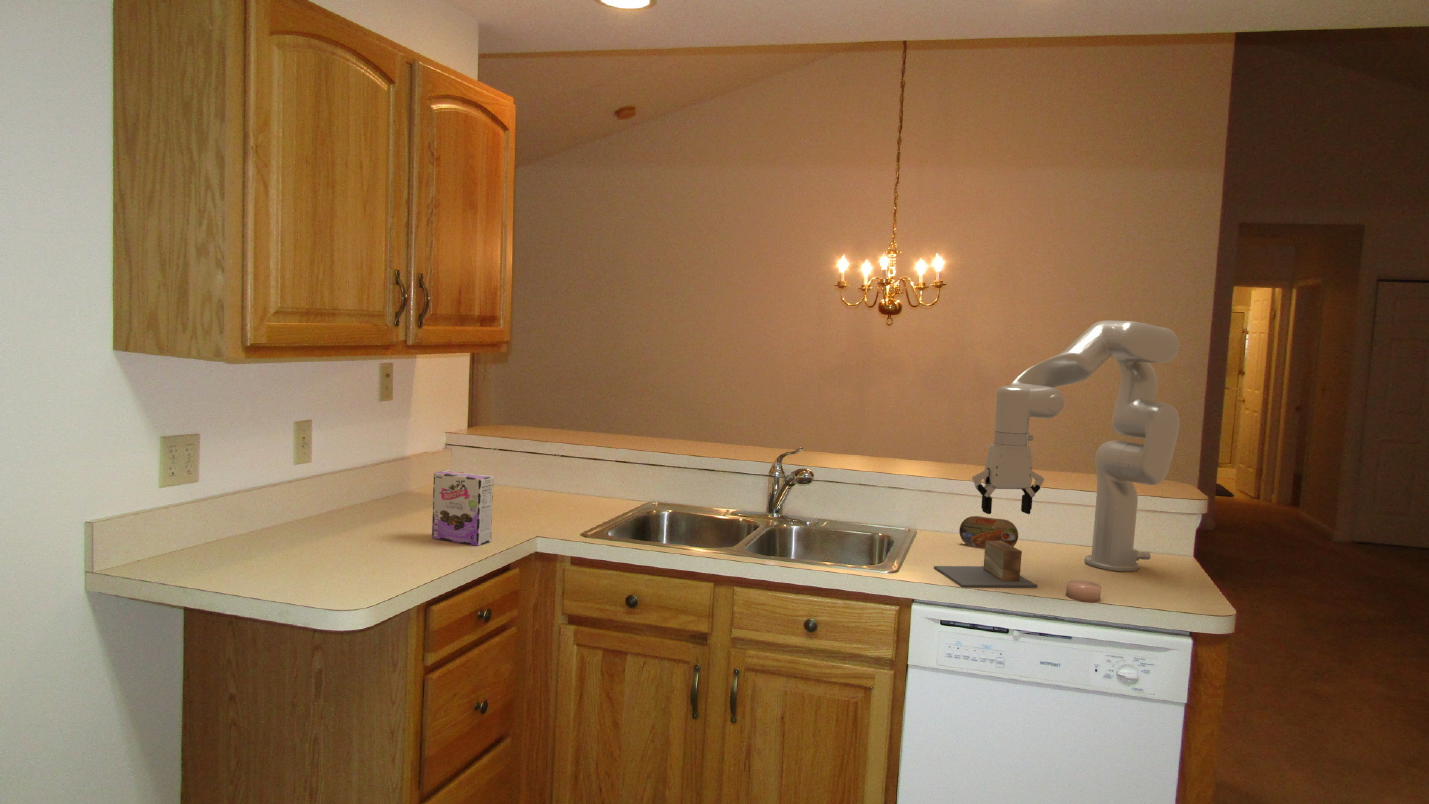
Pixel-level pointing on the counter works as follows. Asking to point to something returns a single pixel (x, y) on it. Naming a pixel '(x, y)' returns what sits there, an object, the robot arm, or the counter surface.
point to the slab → (1002, 560)
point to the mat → (980, 578)
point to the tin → (987, 531)
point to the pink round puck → (1083, 591)
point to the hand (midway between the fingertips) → (1006, 512)
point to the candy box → (462, 507)
